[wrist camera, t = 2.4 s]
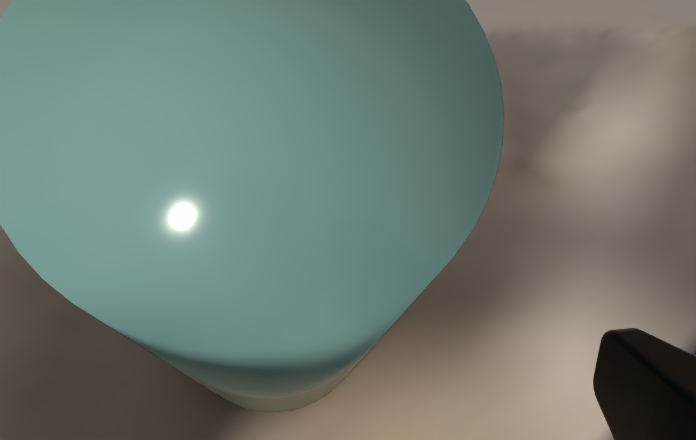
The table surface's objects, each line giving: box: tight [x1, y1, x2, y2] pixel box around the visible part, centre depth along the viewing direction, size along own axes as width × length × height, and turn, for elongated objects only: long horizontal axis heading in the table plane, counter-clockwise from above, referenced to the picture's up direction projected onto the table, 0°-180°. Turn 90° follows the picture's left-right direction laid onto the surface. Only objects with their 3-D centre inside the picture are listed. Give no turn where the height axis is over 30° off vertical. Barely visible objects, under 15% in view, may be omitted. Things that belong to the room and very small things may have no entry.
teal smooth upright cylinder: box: [0, 0, 504, 412], centre depth 12 cm, size 5×5×12 cm
